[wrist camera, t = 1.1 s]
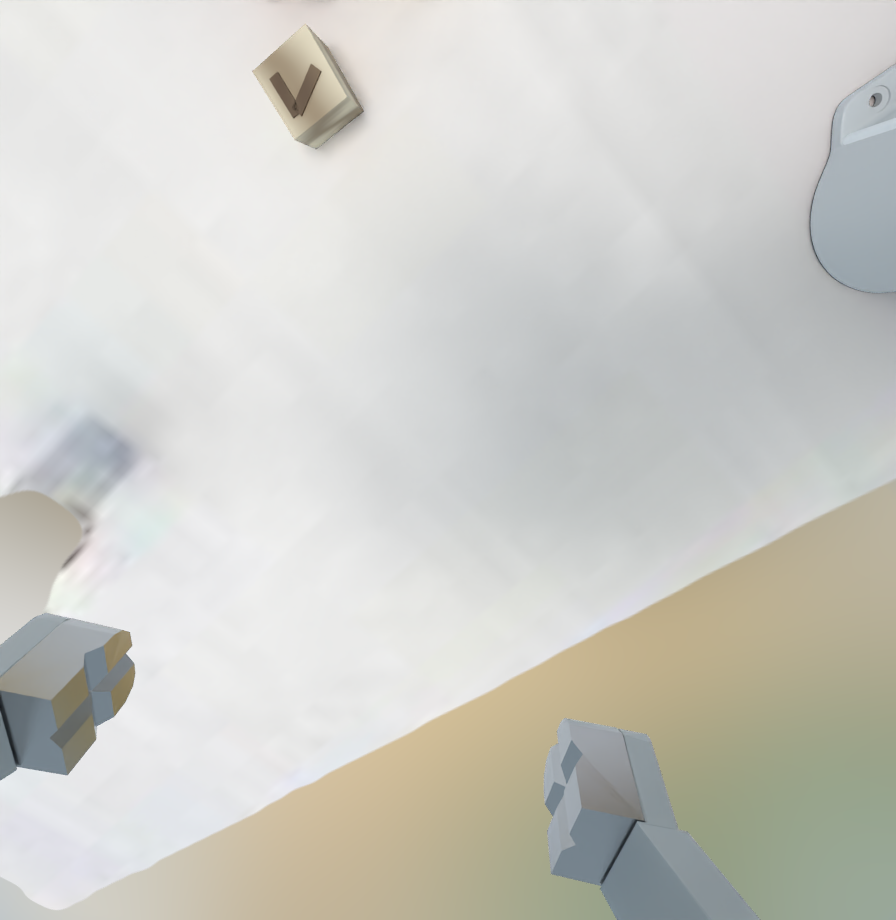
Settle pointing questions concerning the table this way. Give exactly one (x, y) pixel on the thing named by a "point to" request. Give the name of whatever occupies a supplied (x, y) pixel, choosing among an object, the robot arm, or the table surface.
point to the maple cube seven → (308, 88)
